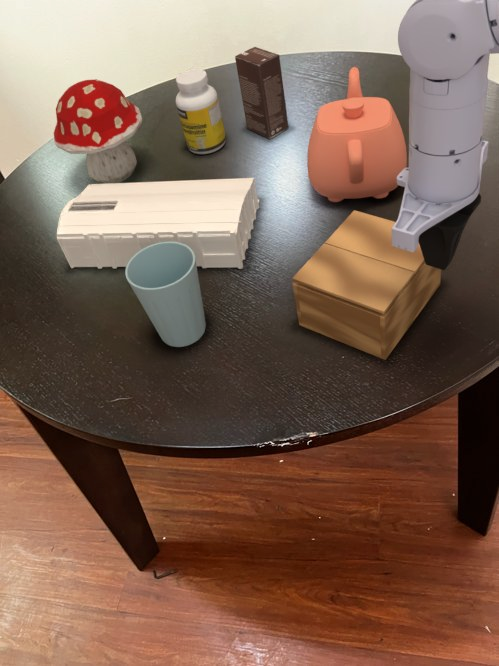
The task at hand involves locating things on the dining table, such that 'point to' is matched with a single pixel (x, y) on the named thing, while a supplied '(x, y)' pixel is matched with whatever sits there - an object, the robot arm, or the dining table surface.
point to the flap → (374, 241)
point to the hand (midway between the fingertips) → (438, 263)
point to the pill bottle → (199, 112)
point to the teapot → (356, 146)
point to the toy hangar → (159, 221)
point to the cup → (169, 291)
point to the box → (262, 91)
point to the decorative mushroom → (98, 129)
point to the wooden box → (361, 298)
